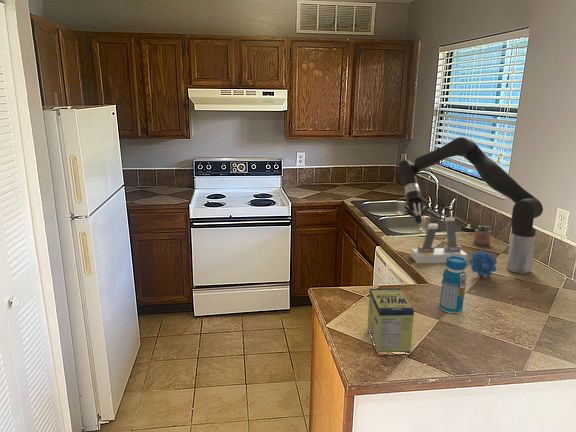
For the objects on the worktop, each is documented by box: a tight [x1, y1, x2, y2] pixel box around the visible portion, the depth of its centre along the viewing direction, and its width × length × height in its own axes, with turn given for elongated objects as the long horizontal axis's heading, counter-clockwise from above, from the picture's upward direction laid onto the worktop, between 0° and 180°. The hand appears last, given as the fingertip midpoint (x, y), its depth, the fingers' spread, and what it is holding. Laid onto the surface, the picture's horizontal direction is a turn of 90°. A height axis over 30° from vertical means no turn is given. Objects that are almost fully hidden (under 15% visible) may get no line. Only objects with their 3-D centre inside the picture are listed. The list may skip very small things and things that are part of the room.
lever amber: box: [421, 223, 439, 252], centre depth 202 cm, size 4×2×16 cm, turn 93°
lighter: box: [472, 225, 493, 246], centre depth 228 cm, size 8×3×10 cm, turn 62°
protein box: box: [367, 288, 415, 354], centre depth 137 cm, size 10×16×16 cm
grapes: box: [468, 249, 498, 277], centre depth 187 cm, size 12×7×12 cm, turn 81°
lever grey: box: [444, 216, 458, 251], centre depth 208 cm, size 4×2×16 cm, turn 93°
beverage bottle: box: [438, 256, 468, 314], centre depth 158 cm, size 8×8×20 cm
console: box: [410, 244, 468, 264], centre depth 207 cm, size 24×9×7 cm, turn 93°
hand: (419, 223), depth 215 cm, fingers closed
